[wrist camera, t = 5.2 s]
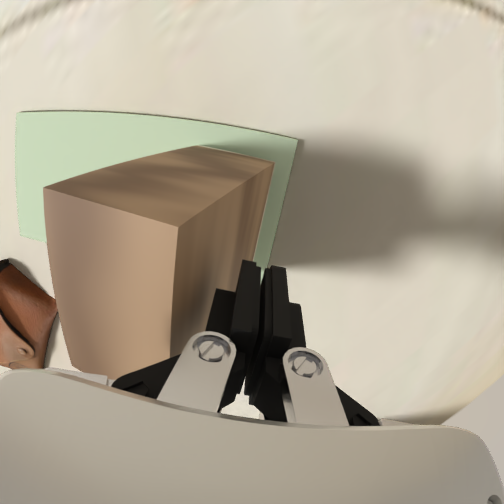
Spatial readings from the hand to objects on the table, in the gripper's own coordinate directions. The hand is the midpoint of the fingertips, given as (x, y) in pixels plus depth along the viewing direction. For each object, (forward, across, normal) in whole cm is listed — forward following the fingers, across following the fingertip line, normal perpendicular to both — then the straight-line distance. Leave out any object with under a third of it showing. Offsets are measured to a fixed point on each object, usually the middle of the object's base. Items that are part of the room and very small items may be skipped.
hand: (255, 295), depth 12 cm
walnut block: (+9, +2, 0) cm, 9 cm away
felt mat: (+10, +10, 0) cm, 14 cm away
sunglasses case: (+10, +24, +19) cm, 32 cm away
